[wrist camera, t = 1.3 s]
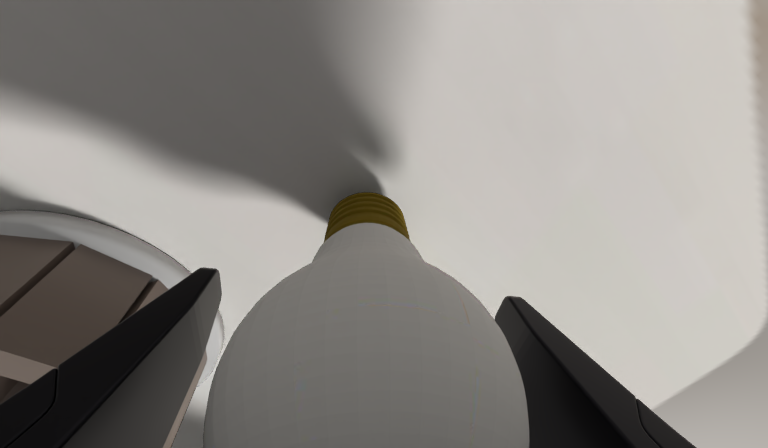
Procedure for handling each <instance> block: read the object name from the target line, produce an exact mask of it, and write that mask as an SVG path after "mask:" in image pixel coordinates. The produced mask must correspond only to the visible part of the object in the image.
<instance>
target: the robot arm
mask: <svg viewBox="0 0 768 448" xmlns="http://www.w3.org/2000/svg"><path fill="white" fill-rule="evenodd" d="M221 295H222V291H221V282H220V274H219V271H218V270H217V269H213V268H200V269H198V270H196V271H195V272H193V273H192V274H190V275H189V276H187V277H186V278H185V279H183V280H182V281H180V282H179V283H177V284H176V285H174V286H173V287H171V288H170V289H169V290H167V291H166V292H164V293H163V294H161V295H160V296H158V297H157V298H155V299H154V300H152V301H151V302H150V303H148V304H147V305H145V306H144V307H142V308H141V309H139V310H138V311H136V312H135V313H134V314H132V315H131V316H129V317H128V318H126V319H125V320H123V321H122V322H120V323H119V324H118V325H116V326H115V327H113V328H112V329H110V330H109V331H107V332H106V333H104V334H103V335H101V336H100V337H99V338H97V339H96V340H94V341H93V342H91V343H90V344H88V345H87V346H85V347H84V348H83V349H81V350H80V351H78V352H77V353H75V354H74V355H72V356H71V357H69V358H68V359H67V360H65V361H64V362H62V363H61V364H59V365H58V367H57V368H53V369H52V370H50V371H49V372H47V373H46V374H44V375H43V376H42V377H40V378H39V379H37V380H36V381H34V382H33V383H31V384H30V385H28V386H27V387H25V388H24V389H22V390H21V391H19V392H18V393H16V394H15V395H13V396H12V397H10V398H9V399H7V400H6V401H4V402H3V403H1V404H0V448H163V446H164V444H165V442H166V440H167V437H168V435H169V433H170V431H171V428H172V426H173V424H174V422H175V419H176V417H177V415H178V413H179V410H180V408H181V406H182V404H183V401H184V399H185V397H186V395H187V392H188V390H189V388H190V386H191V383H192V381H193V379H194V377H195V374H196V372H197V370H198V368H199V365H200V363H201V360H202V358H203V355H204V352H205V349H206V346H207V343H208V340H209V337H210V333H211V330H212V327H213V324H214V321H215V317H216V314H217V311H218V308H219V304H220V301H221ZM495 322H496V323H497V324H498V326H499V327H500V329H501V331H502V332H503V334H504V336H505V338H506V340H507V342H508V344H509V346H510V348H511V351H512V353H513V356H514V358H515V360H516V363H517V366H518V368H519V371H520V374H521V378H522V381H523V385H524V389H525V395H526V400H527V410H528V421H529V448H696V447H695V446H694V445H692V444H691V443H690V442H688V441H687V440H686V439H685V438H684V437H682V436H681V435H680V434H679V433H677V432H676V431H675V430H674V429H673V428H671V427H670V426H669V425H668V424H667V423H666V422H664V421H663V420H662V419H661V418H660V417H658V416H657V415H656V414H655V413H654V412H653V411H651V410H650V409H649V408H648V407H647V406H646V405H644V404H643V403H642V402H641V401H640V400H639V399H636V398H635V396H634V395H633V394H632V393H631V392H629V391H628V390H627V389H626V388H625V387H624V386H623V385H621V384H620V383H619V382H618V381H617V380H616V379H614V378H613V377H612V376H611V375H610V374H609V373H608V372H606V371H605V370H604V369H603V368H602V367H601V366H600V365H598V364H597V363H596V362H595V361H594V360H593V359H591V358H590V357H589V356H588V355H587V354H586V353H585V352H583V351H582V350H581V349H580V348H579V347H578V346H577V345H575V344H574V343H573V342H572V341H571V340H570V339H568V338H567V337H566V336H565V335H564V334H563V333H562V332H560V331H559V330H558V329H557V328H556V327H555V326H554V325H552V324H551V323H550V322H549V321H548V320H547V319H545V318H544V317H543V316H542V315H541V314H540V313H539V312H537V311H536V310H535V309H534V308H533V307H532V306H531V305H529V304H528V303H527V302H526V301H525V300H524V299H522V298H521V297H514V296H507V297H505V298H504V300H503V302H502V304H501V306H500V308H499V310H498V312H497V314H496V316H495Z"/></svg>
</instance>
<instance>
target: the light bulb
mask: <svg viewBox="0 0 768 448" xmlns="http://www.w3.org/2000/svg"><path fill="white" fill-rule="evenodd" d="M203 448H529V421H528V410H527V400H526V395H525V389H524V385H523V381H522V378H521V374H520V371H519V368H518V366H517V363H516V360H515V358H514V356H513V353H512V351H511V348H510V346H509V344H508V342H507V340H506V338H505V336H504V334H503V332H502V331H501V329H500V327H499V326H498V324H497V323H496V322H495V320H494V319H493V317H492V316H491V315H490V313H489V312H488V311H487V309H486V308H485V307H484V306H483V304H482V303H481V302H480V301H479V300H478V299H477V298H476V297H475V296H474V295H473V294H472V293H471V292H470V291H469V290H467V289H466V288H465V287H464V286H463V285H462V284H461V283H459V282H458V281H457V280H455V279H454V278H453V277H451V276H450V275H448V274H446V273H445V272H443V271H441V270H440V269H438V268H436V267H434V266H432V265H430V264H428V263H426V262H424V260H423V259H422V257H421V255H420V254H419V252H418V250H417V249H416V248H415V246H414V245H413V244H412V243H411V241H410V239H409V235H408V231H407V227H406V224H405V220H404V216H403V213H402V211H401V209H400V208H399V207H398V206H397V204H395V203H394V202H393V201H392V200H391V199H389V198H387V197H385V196H383V195H380V194H377V193H370V192H364V193H357V194H353V195H351V196H348V197H346V198H345V199H343V200H342V201H340V202H339V203H338V204H337V205H336V206H335V208H334V209H333V211H332V212H331V215H330V218H329V222H328V227H327V231H326V235H325V240H324V243H323V244H322V246H321V247H320V248H319V250H318V252H317V253H316V255H315V257H314V259H313V261H312V263H311V264H309V265H307V266H305V267H303V268H301V269H300V270H298V271H296V272H294V273H293V274H291V275H289V276H288V277H286V278H285V279H283V280H282V281H281V282H279V283H278V284H277V285H276V286H275V287H273V288H272V289H271V290H270V291H269V292H267V293H266V294H265V295H264V296H263V297H262V298H261V299H260V300H259V301H258V302H257V303H256V304H255V306H254V307H253V308H252V309H251V310H250V312H249V313H248V314H247V315H246V317H245V318H244V319H243V320H242V322H241V323H240V324H239V326H238V327H237V329H236V330H235V332H234V333H233V335H232V337H231V339H230V341H229V343H228V345H227V347H226V349H225V351H224V353H223V355H222V357H221V359H220V362H219V364H218V366H217V369H216V372H215V375H214V378H213V381H212V384H211V388H210V392H209V397H208V403H207V409H206V416H205V422H204V434H203Z"/></svg>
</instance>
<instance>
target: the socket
mask: <svg viewBox="0 0 768 448" xmlns="http://www.w3.org/2000/svg"><path fill="white" fill-rule="evenodd" d="M190 274H191V273H190V272H189V271H188V270H187V269H185V268H184V267H183V266H181V265H180V264H179V263H178V262H176V261H175V260H174V259H172V258H171V257H169V256H168V255H166V254H165V253H163V252H162V251H160V250H158V249H157V248H155V247H153V246H152V245H150V244H148V243H146V242H144V241H142V240H140V239H138V238H136V237H134V236H132V235H129V234H127V233H125V232H122V231H120V230H118V229H115V228H113V227H110V226H107V225H104V224H101V223H98V222H95V221H91V220H87V219H83V218H79V217H75V216H71V215H65V214H59V213H52V212H46V211H30V210H13V211H0V404H1V403H3V402H4V401H6V400H7V399H9V398H10V397H12V396H13V395H15V394H16V393H18V392H19V391H21V390H22V389H24V388H25V387H27V386H28V385H30V384H31V383H33V382H34V381H36V380H37V379H39V378H40V377H42V376H43V375H44V374H46V373H47V372H49V371H50V370H52V369H53V368H57V367H58V365H59V364H61V363H62V362H64V361H65V360H67V359H68V358H69V357H71V356H72V355H74V354H75V353H77V352H78V351H80V350H81V349H83V348H84V347H85V346H87V345H88V344H90V343H91V342H93V341H94V340H96V339H97V338H99V337H100V336H101V335H103V334H104V333H106V332H107V331H109V330H110V329H112V328H113V327H115V326H116V325H118V324H119V323H120V322H122V321H123V320H125V319H126V318H128V317H129V316H131V315H132V314H134V313H135V312H136V311H138V310H139V309H141V308H142V307H144V306H145V305H147V304H148V303H150V302H151V301H152V300H154V299H155V298H157V297H158V296H160V295H161V294H163V293H164V292H166V291H167V290H169V289H170V288H171V287H173V286H174V285H176V284H177V283H179V282H180V281H182V280H183V279H185V278H186V277H187V276H189V275H190ZM223 342H224V326H223V321H222V317H221V314H220V312H219V310H218V311H217V314H216V317H215V321H214V324H213V327H212V330H211V333H210V337H209V340H208V343H207V346H206V349H205V352H204V355H203V358H202V360H201V363H200V365H199V368H198V370H197V372H196V374H195V377H194V379H193V381H192V383H191V386H190V388H189V390H188V392H187V395H186V397H185V399H184V401H183V404H182V406H181V408H180V410H179V413H178V415H177V417H176V419H175V422H174V424H173V426H172V428H171V431H170V433H169V435H168V437H167V440H166V442H165V444H164V446H163V448H171V446H172V444H173V441H174V439H175V437H176V434H177V432H178V429H179V427H180V425H181V422H182V420H183V417H184V415H185V413H186V410H187V408H188V405H189V403H190V401H191V398H192V396H193V393H194V391H195V389H196V387H198V386H199V385H201V384H202V383H203V382H204V381H205V380H206V379H207V378H208V377H209V375H210V374H211V373H212V371H213V369H214V367H215V365H216V362H217V360H218V357H219V355H220V352H221V350H222V347H223Z"/></svg>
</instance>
